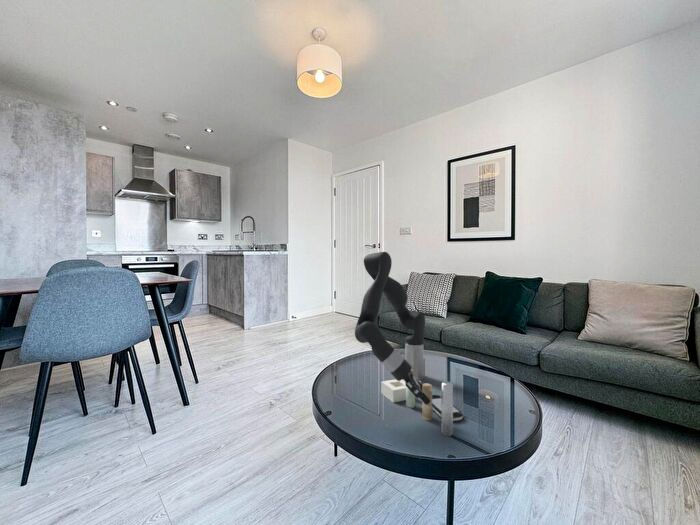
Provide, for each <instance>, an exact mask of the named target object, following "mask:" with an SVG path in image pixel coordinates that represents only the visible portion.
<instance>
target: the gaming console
mask: <svg viewBox="0 0 700 525" xmlns="http://www.w3.org/2000/svg"><path fill="white" fill-rule="evenodd" d="M432 412H434V413H435V414H436V415H437V416H439V417H440V418H441V414H442V395H440V394H439V395H438V394H432ZM462 412H463V411H462V410H461V409H459V408H457V406H455V405H454V404H453V423H455V422H460V421H462V420H464V414H463V413H462Z"/></svg>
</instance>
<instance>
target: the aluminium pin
mask: <svg viewBox="0 0 700 525" xmlns="http://www.w3.org/2000/svg"><path fill="white" fill-rule="evenodd" d="M453 394H454V386H453V383H452V382H451V381H449V380H448V381H447V380H446V381H445V380H444V381H442V382H441V397H442V414H441V417H440V418H441V425H440V426H441V428H440V429H441V431H440V432H441V434H442V435H444V436H447V437H451V436H453V435H454V433H453V432H454V430H453V429H454V425H453V423H454V422H453V405H454V403H453V402H454V397H453V396H454V395H453Z"/></svg>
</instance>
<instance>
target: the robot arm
mask: <svg viewBox="0 0 700 525" xmlns="http://www.w3.org/2000/svg"><path fill="white" fill-rule="evenodd" d="M392 264H393V263H392V257H391V255H390V253H389V252H388V251H379V252H375V253H369V254H367V255H365V256H364V258H363V266H364V268H365V270H366V273H367V274H368V275H369V276H370V277H371V278H372V279H373V283H372V284H371V285H370V286H369V287H368V289H367V290H366V292H365V294H364V296H363V300H362V304H361V309H360V314H359V317H358V320H357V321H356V322H357V323H356V325H355V329H354V336H355V339H356V341H357V342H358V343H361V344H364V343H365V344H366V343H368V344H369V345H370V347H371V348H372V350H371V351H372V354H373V355H374V356H375V357H376V358H377V359H378V360H379V362H380V363H382V365H383V367H384V368H385V369H386V370H387V371H388V373H390V374H391V375H392V377H393V378H395V379H396V380H397V381H401V380H404V381H405V383H406V387H407V388H408V389H409V390H410V391H411V392H412V393H413V394H414V395H415V399H420V400H421V402H422V401H423V402H424V403H425V404H426V405H427V404H428V403H429V402H430V399H429V398H428V397H427V396H426V395H425V394H424V393H423V391H422V384H423V383H422V381H421V380H423V379H425V378H426V359H425V358H424V340H425V330H426V317H425V315H424V313H423V312H421V311H420V312H419V311H413V310H410V309H408V307H407V302H408V293H407V291H406V290H405V288H404V287H403V285H402V284H401V283H400V282H399V281H398V280H396V279H394V278H393V277H391V276H390V273H391V269H392ZM383 294H384V296H385V297H386V299H387V301H388V303H390V305H391V306H392V308H393V310H394V311H395V313H396V315H397V317H398V319H399V321H400V323H401V325H402V326H403V328H405V329H407V330H411V331H414V332H413V334H412V335H407V336H405V339H404V346H405V347H404V357H403V355H401V353H400V352H398V351H397V350H396V349H395V348H394V347H393V345H392V344H390V343H389V341H387V339H386V338H385V336H384V335H383V333H382V331H381V330H380V329H379V327H378V326H377V325H376V324H375V320H376V319H377V318H378V315H379V311H380V306H381V300H382V296H383ZM411 369H412V370H413V372H412V371H411ZM395 379H394V380H395Z"/></svg>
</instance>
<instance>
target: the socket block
mask: <svg viewBox="0 0 700 525" xmlns="http://www.w3.org/2000/svg"><path fill="white" fill-rule="evenodd" d="M411 371H412V372H413V370H412V369H411ZM380 384H381V385H380V386H381V389H380V390H381V392H380V393H381V394H382V395H383V396H385V397H386V398H387V399H388V400H389V401H390V402H392V403H397V402H402V401H403V402H404V401H406V383H405V380H404V379H402V380H401V381H397V380H396V379H391V380H390V379H389V380H384V381H381V383H380Z"/></svg>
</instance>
